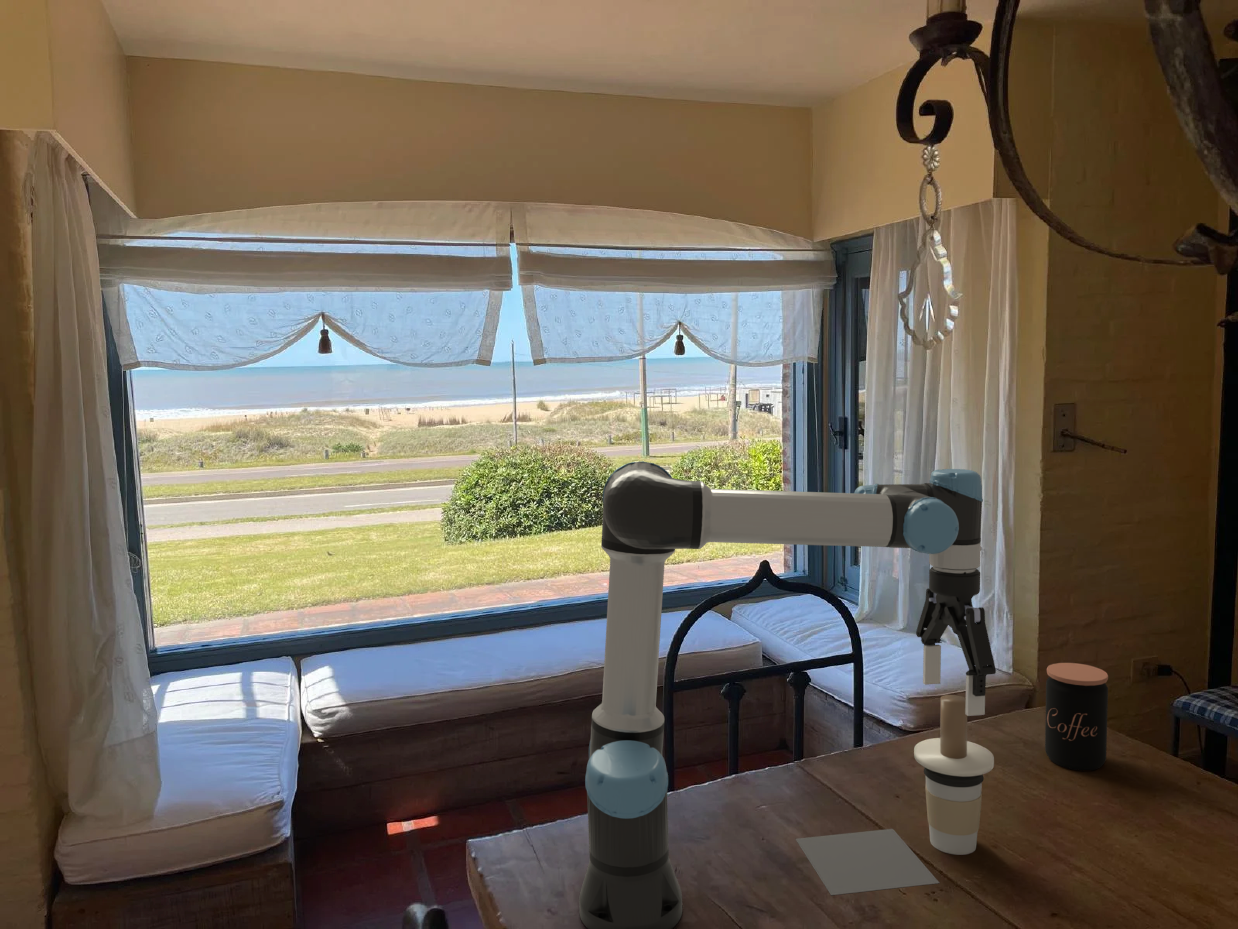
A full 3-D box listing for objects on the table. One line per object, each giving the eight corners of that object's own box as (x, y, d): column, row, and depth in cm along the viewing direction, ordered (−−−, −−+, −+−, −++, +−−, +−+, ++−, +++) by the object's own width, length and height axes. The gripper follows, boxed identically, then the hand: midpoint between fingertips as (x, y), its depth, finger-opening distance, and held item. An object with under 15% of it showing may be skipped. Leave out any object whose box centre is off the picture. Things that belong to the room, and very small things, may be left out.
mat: (831, 900, 129) (831, 895, 129) (795, 843, 145) (795, 838, 145) (939, 888, 131) (939, 883, 131) (892, 833, 147) (892, 828, 147)
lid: (936, 779, 134) (936, 716, 133) (901, 747, 146) (901, 689, 145) (1009, 772, 135) (1010, 710, 134) (968, 741, 147) (969, 683, 146)
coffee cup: (988, 865, 137) (989, 773, 135) (927, 860, 139) (928, 770, 137) (976, 835, 146) (977, 749, 144) (919, 831, 147) (920, 746, 146)
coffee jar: (1035, 760, 172) (1037, 672, 170) (1057, 744, 179) (1059, 659, 177) (1094, 778, 164) (1096, 685, 162) (1114, 759, 171) (1116, 670, 170)
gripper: (1023, 585, 126) (1019, 727, 128) (938, 551, 150) (936, 670, 152) (974, 587, 125) (971, 731, 127) (896, 553, 149) (895, 673, 151)
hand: (952, 698), depth 140 cm, fingers open, 13 cm apart
